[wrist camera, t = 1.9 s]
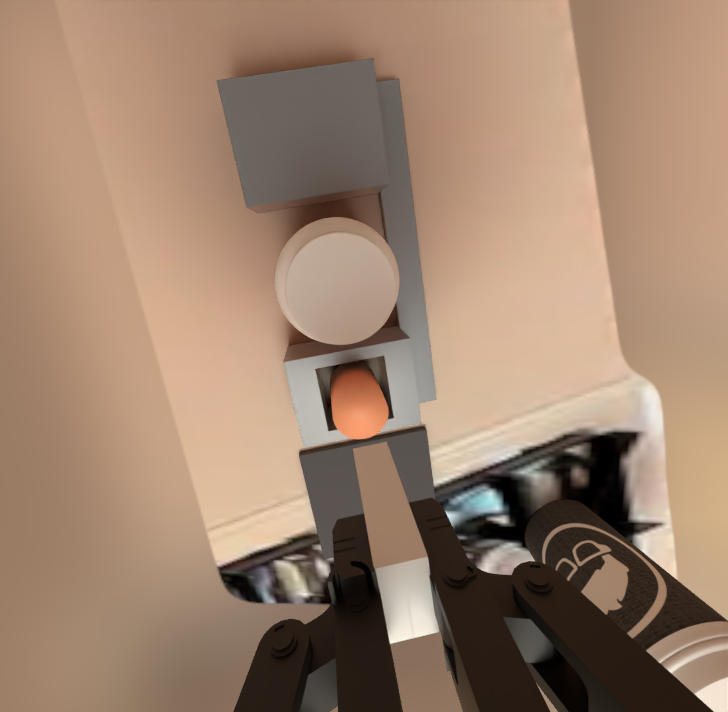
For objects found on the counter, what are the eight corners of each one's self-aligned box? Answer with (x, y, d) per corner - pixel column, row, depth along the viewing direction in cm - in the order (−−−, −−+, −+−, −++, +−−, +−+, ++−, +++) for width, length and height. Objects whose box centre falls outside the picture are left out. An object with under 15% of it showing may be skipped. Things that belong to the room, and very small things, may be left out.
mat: (299, 452, 30) (299, 455, 29) (424, 426, 30) (426, 429, 30) (324, 554, 33) (324, 559, 32) (438, 529, 33) (439, 533, 33)
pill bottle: (328, 334, 28) (335, 390, 17) (266, 268, 26) (231, 285, 15) (394, 276, 27) (443, 296, 16) (335, 204, 25) (349, 175, 15)
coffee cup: (508, 580, 36) (634, 802, 22) (508, 493, 33) (652, 682, 19) (603, 562, 37) (786, 764, 22) (611, 475, 34) (826, 643, 20)
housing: (233, 107, 23) (216, 80, 19) (396, 83, 24) (411, 53, 20) (305, 421, 29) (303, 447, 25) (433, 395, 30) (450, 417, 26)
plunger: (325, 366, 26) (327, 393, 21) (372, 357, 26) (384, 382, 22) (334, 409, 27) (338, 444, 22) (379, 400, 27) (392, 433, 22)
